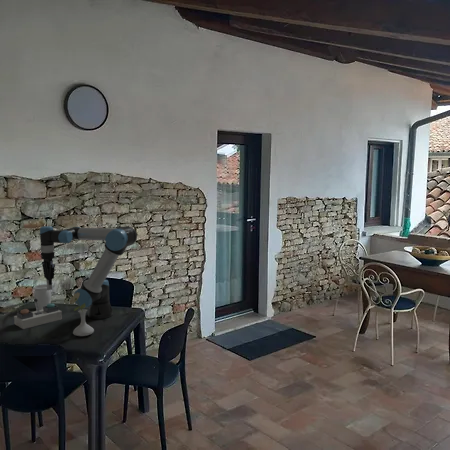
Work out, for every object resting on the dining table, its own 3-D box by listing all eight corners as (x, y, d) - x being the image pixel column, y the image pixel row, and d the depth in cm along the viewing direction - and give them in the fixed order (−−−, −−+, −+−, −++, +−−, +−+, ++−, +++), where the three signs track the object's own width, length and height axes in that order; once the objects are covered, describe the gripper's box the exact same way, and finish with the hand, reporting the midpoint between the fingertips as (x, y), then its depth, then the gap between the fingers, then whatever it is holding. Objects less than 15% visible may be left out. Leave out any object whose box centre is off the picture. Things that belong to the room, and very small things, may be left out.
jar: (46, 311, 305) (44, 288, 303) (31, 310, 307) (30, 287, 305) (55, 306, 315) (54, 284, 313) (41, 305, 317) (40, 283, 315)
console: (62, 319, 290) (61, 307, 289) (23, 329, 273) (22, 316, 272) (52, 314, 298) (52, 303, 297) (14, 324, 281) (13, 312, 280)
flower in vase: (86, 329, 272) (84, 287, 269) (98, 333, 265) (96, 290, 262) (66, 335, 262) (64, 292, 259) (78, 340, 255) (76, 295, 252)
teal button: (55, 307, 290) (55, 304, 290) (49, 309, 287) (48, 305, 287) (52, 305, 293) (52, 302, 293) (45, 307, 290) (45, 304, 290)
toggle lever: (40, 310, 285) (37, 297, 286) (37, 311, 283) (34, 298, 284) (39, 311, 286) (36, 298, 287) (35, 312, 285) (32, 299, 285)
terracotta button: (30, 313, 279) (30, 310, 279) (22, 315, 276) (22, 312, 275) (26, 311, 282) (26, 308, 282) (19, 313, 279) (19, 310, 278)
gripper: (36, 251, 287) (38, 288, 290) (46, 254, 278) (48, 292, 281) (48, 249, 293) (50, 286, 296) (58, 252, 284) (60, 290, 287)
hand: (49, 289), depth 289 cm, fingers closed
